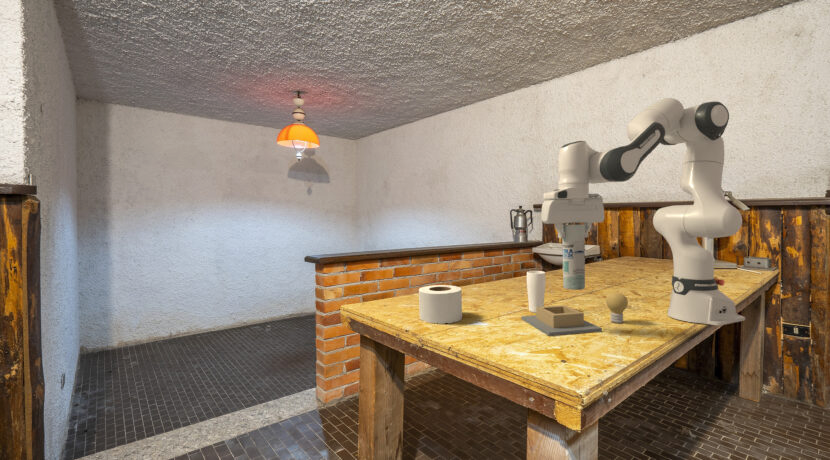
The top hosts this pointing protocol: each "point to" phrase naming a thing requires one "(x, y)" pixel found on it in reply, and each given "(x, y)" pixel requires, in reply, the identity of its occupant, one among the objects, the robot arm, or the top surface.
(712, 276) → the robot arm
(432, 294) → the toilet paper roll
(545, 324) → the socket
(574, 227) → the spray paint can
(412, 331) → the top surface
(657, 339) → the top surface
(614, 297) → the light bulb
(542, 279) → the drinking glass
